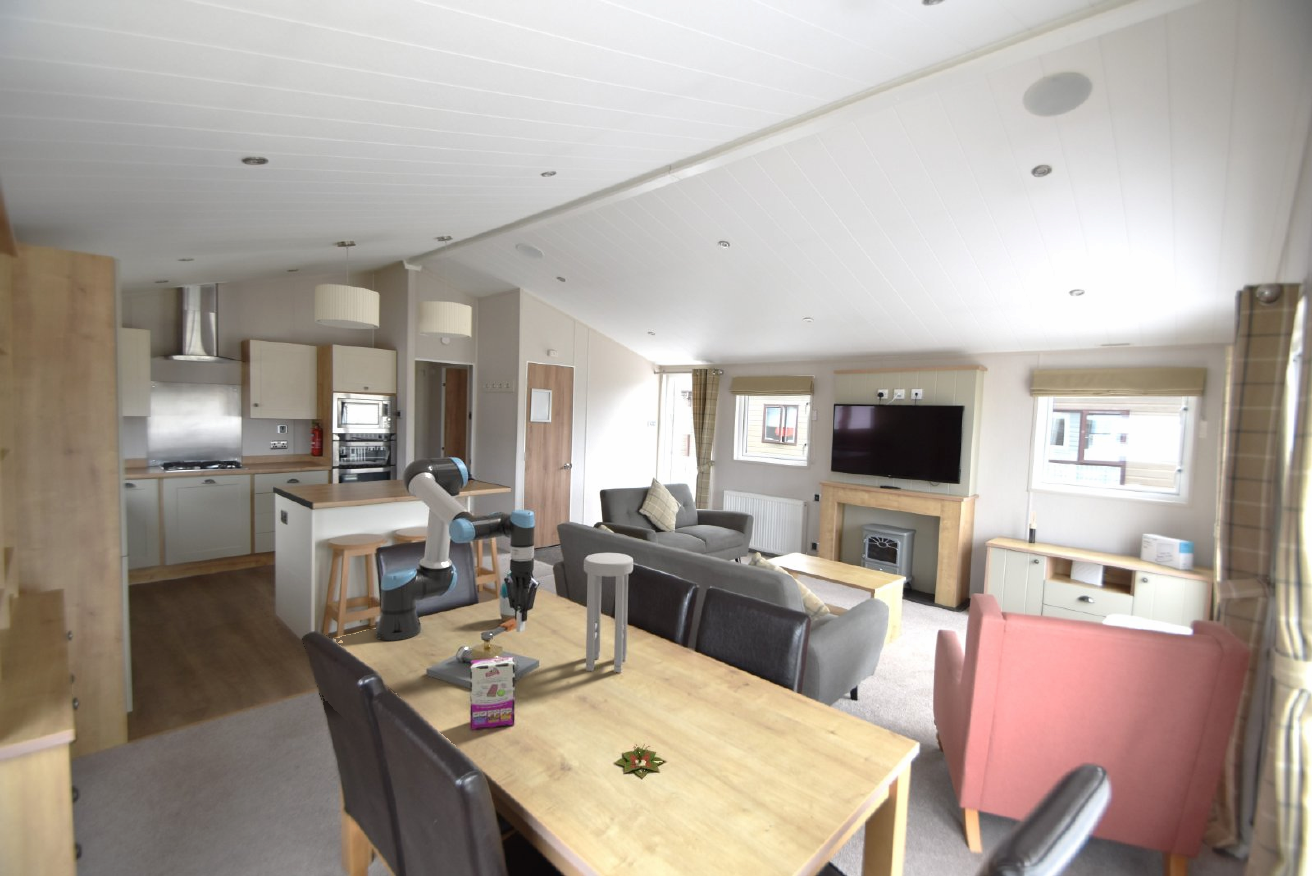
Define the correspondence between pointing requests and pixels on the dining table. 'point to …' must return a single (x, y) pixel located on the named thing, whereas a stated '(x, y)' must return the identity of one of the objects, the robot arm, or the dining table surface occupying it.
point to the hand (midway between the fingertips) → (520, 630)
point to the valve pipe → (481, 653)
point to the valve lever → (499, 630)
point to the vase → (505, 604)
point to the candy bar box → (492, 693)
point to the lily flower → (643, 755)
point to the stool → (595, 569)
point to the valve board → (461, 671)
